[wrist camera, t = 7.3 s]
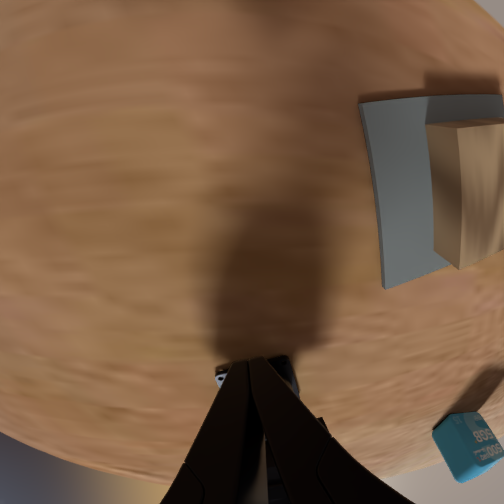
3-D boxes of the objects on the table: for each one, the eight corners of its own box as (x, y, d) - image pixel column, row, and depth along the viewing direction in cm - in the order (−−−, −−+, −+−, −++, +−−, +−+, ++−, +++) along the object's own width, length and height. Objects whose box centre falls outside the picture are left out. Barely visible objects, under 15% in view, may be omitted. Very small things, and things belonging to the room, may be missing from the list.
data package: (478, 410, 38) (507, 454, 27) (462, 426, 39) (488, 470, 29) (446, 413, 35) (479, 468, 24) (428, 431, 37) (457, 485, 26)
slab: (433, 250, 22) (501, 223, 21) (459, 270, 18) (526, 237, 18) (424, 124, 17) (499, 117, 17) (456, 128, 14) (528, 122, 14)
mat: (501, 237, 23) (505, 240, 22) (382, 286, 23) (385, 289, 22) (497, 94, 17) (501, 94, 16) (358, 103, 17) (361, 103, 17)
